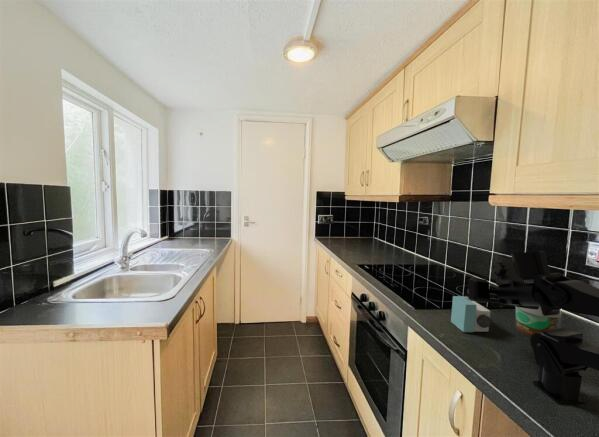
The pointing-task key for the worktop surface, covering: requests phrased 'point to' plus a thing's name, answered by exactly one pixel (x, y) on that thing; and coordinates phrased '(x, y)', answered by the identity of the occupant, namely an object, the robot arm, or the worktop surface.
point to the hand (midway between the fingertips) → (481, 293)
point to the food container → (534, 321)
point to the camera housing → (481, 318)
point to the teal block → (463, 313)
